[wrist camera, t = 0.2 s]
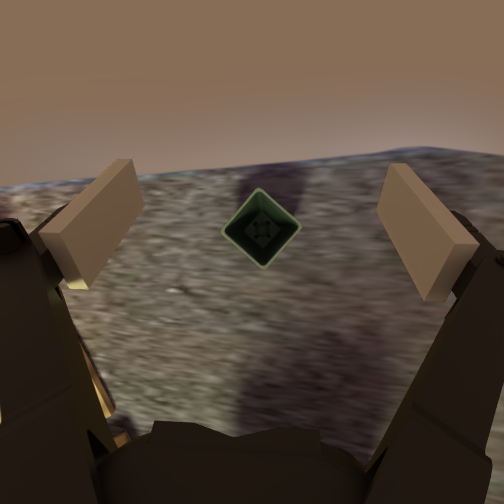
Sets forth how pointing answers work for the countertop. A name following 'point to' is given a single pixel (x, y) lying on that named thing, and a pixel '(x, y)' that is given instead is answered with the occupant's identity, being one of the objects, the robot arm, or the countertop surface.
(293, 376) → the countertop surface
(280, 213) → the flower pot
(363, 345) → the countertop surface
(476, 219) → the countertop surface
